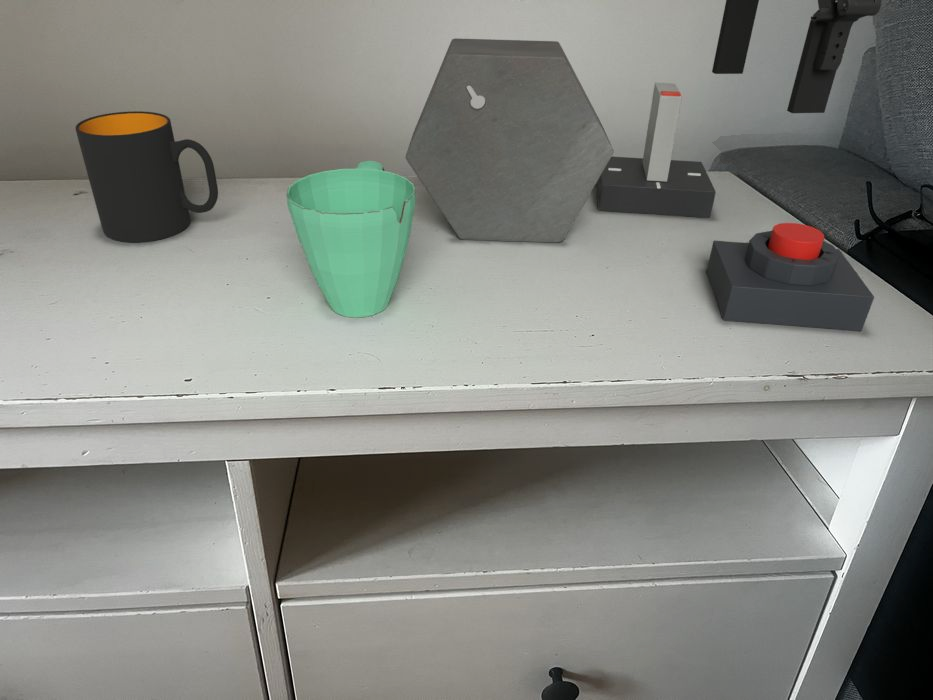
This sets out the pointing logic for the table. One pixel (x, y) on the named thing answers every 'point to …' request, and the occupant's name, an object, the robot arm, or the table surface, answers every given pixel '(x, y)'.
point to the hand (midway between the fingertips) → (762, 91)
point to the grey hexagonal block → (508, 141)
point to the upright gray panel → (661, 131)
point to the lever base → (655, 189)
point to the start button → (796, 241)
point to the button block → (787, 286)
